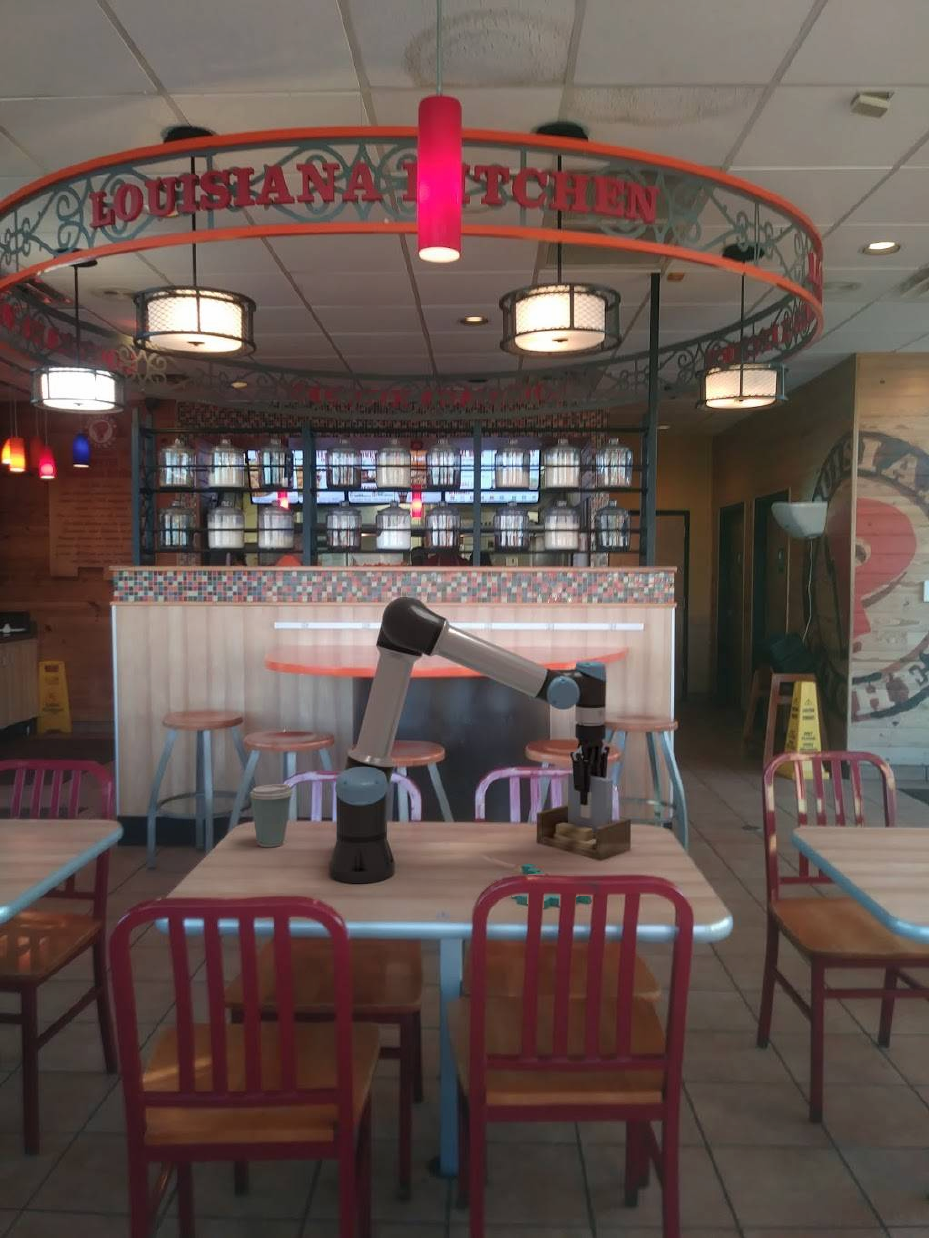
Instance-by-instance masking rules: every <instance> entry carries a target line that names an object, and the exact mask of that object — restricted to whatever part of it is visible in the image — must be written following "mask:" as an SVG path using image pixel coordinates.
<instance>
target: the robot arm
mask: <svg viewBox="0 0 929 1238" xmlns="http://www.w3.org/2000/svg"><path fill="white" fill-rule="evenodd" d="M375 647H376V649H377V651H378V652H379V657H378V660H377V665H376V668H375V673H374V677H373V680H372V685H371V689H370V691H369V692H370V693H369V697H368V701H367V704H366V708H365V712H364V717H363V720H362V725H361V728H360V732H359V735H358V739H357V740H358V741H357V743H356V747H355V748H354V749H352V750H351V751H349V752H348V754H347V758H346V761H345V765H344V770H343V771H341V772H340V773H339V774H338V775H337V776H336V781H335V782H336V783H335V786H334V787H335V793H336V795H335V796H336V798H335V801H336V804H335V805H336V818H335V819H336V841H335V844H334V848H333V851H332V854H331V859H330V861H329V864H328V875H329V877H331V879H333V880H335V881H338V882H342V883H349V884H368V883H370V884H371V883H375V882H380V881H384V880H386V879H387V880H388V879H389V878H390V877H392V876H393V875H394V874H395V872H396V867H395V866H396V865H395V863H396V862H395V859H394V856H393V852H392V850H391V846H390V844H389V840H388V791H389V788H390V785H391V780H392V775H393V772H394V767H395V762H394V760H393V758H392V757H391V754H392V751H393V746H394V743H395V739H396V734H397V732H398V727H399V723H400V719H401V715H402V711H403V707H404V703H405V700H406V696H407V691H408V688H409V683H410V679H411V676H412V672H413V669H414V664H415V663H416V661H418V660H420V659H421V658H423V655H425V656H428V657H433V656H439V657H441V658H443V659H446V660H449V661H450V662H452V663H455V664H457V665H460V666H462V667H465V668H466V669H469V670H471V671H473V672H476V673H478V674H481V675H483V676H485V677H486V678H487V677H488V678H489V679H492V680H494V681H496V682H498V683H502V684H504V685H505V686H508V687H511V688H513V689H514V690H517V691H518V692H522V693H524V694H526V695H528V697H529V699H530V700H532V701H539V702H540V701H541V702H543V703H546V704H548V705H550V706H552V707H553V708H555V709H557V710H561V711H562V710H563V711H564V710H569V709H571V708H574V706H575V708H574V709H575V713H574V714H575V715H574V716H575V717H574V720H575V723H576V724H575V730H574V732H575V734H574V735H575V738H576V739H577V740H578V743H577V746H576V748H577V749H576V750H575V751H571V752H570V755H569V756H570V758H571V763H572V764H571V765H572V773H573V780H574V789H575V790H577V791H580V804H581V817H584V818H588V819H590V818H591V792H589V786H590V775H592V776H597V777H602V778H607V772H608V759H609V758H608V757H609V753H610V749H611V748H610V746H607V745H604V741H603V740H605V739H606V738H607V737H606V732H607V727H606V726H607V725H606V724H605V723H606V717H607V715H606V712H607V710H606V707H607V706H606V704H607V703H606V701H607V699H606V698H607V682H608V681H607V671H606V670H607V667H606V665H605V663H603V662H602V661H597V660H583V661H580V660H579V661H577V662H576V663H575V667H574V669H573V668H572V669H551V668H547V667H546V666H543V665H542V664H539V663H536V662H535V661H533V660H530V659H528V658H525V657H523V656H521V655H518V654H516V653H514V652H512V651H510V650H508V649H505V648H503V647H500V646H499V645H496V644H494V643H492V642H489V641H488V640H484V639H482V638H480V637H478V636H476V635H474V634H471V633H469V632H467V631H464V630H462V629H461V628H458V627H456V626H454V625H451V624H450V623H449V620H448V618H447V617H444V616H442V615H440V614H437V613H436V612H434V611H432V610H431V609H429V608H428V607H427V606H426V605H425V604H424V603H423V602H422V601H421V600H420V599H417V598H415V597H411V596H401V597H398V598H395V599H394V600H392V601H391V602H389V603H388V605H387V606H386V607H385V608H384V611H383V613H382V618H381V624H380V628H379V633H378V636H377V640H376V644H375Z"/></svg>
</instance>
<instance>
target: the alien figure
mask: <svg viewBox="0 0 929 1238" xmlns="http://www.w3.org/2000/svg"><path fill="white" fill-rule="evenodd" d="M535 866H536V864H533V863H528V862H526V863H525V864H523V865H522V869H521V870H522V871H521V874H523V875H527V874H545V875H546V873H545V872H541V868H537V867H536V868H535ZM510 875H511V874H509V875H508V876H510ZM511 899H514V900H516V904H518V905H523V906H527V895H518V896H515V897H512V896H511ZM559 899H560V897H559V896H558V895H546V897H545V901H544V909H543V910H547V909H549V907H551V906H552V907H557V908H559V907H558V906H559ZM591 902H592V901H591V897H590V896H578V897H576V905H577V904H579V903H581V904H586V905H589V904H590V903H591Z"/></svg>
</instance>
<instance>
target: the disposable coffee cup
mask: <svg viewBox="0 0 929 1238" xmlns="http://www.w3.org/2000/svg"><path fill="white" fill-rule="evenodd" d="M292 795H293V790H292V789H291V785H290V784H286V783H278V784H277V783H276V784H267V785H266V784H265V785H260V786H257V787H254V788H253V789H252V790H251V791H250V793H249V797H250V801H251V802H250V803H251V808H252V815H253V823H254V829H255V837H256V842H257V845H258V846H259V847H262V848H275V847H279V846H283V844H284V842H285V838H286V831H287V826H288V824H287V823H288V819H289V818H288V817H289V811H290V804H291V797H292Z"/></svg>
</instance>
